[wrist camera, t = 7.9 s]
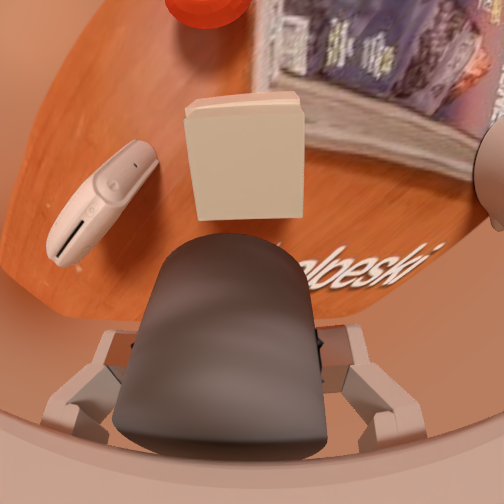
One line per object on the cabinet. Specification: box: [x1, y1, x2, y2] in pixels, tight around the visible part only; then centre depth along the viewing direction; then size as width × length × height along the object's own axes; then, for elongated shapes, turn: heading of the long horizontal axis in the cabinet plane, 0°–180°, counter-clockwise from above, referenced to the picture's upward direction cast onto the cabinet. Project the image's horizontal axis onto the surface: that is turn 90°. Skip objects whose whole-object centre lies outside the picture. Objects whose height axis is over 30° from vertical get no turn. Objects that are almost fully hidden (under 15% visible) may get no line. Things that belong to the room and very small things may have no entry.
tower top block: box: [184, 104, 305, 221], centre depth 23 cm, size 8×8×4 cm
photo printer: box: [46, 139, 159, 267], centre depth 26 cm, size 10×4×12 cm, turn 130°
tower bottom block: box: [185, 91, 300, 117], centre depth 27 cm, size 9×9×5 cm
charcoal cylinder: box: [112, 233, 328, 461], centre depth 10 cm, size 6×6×6 cm
